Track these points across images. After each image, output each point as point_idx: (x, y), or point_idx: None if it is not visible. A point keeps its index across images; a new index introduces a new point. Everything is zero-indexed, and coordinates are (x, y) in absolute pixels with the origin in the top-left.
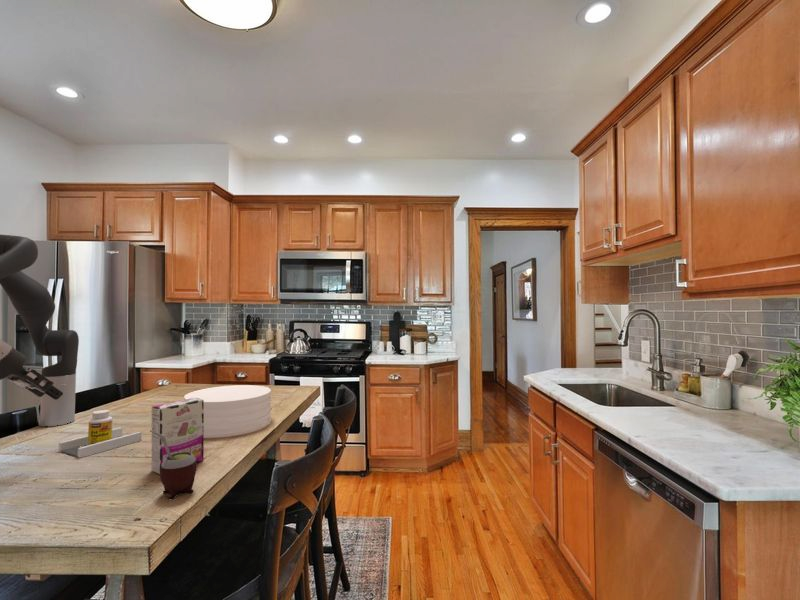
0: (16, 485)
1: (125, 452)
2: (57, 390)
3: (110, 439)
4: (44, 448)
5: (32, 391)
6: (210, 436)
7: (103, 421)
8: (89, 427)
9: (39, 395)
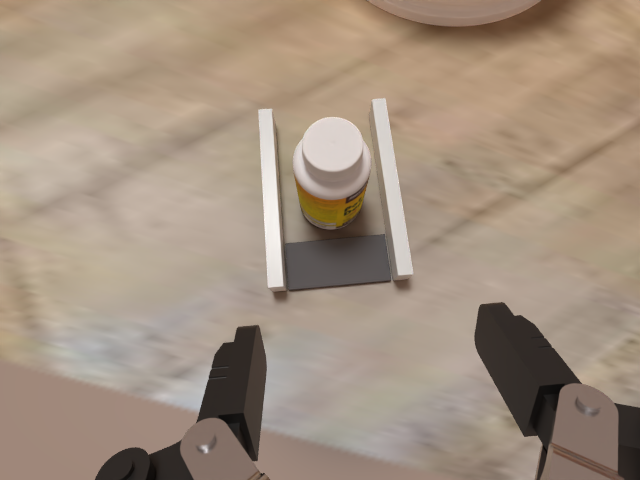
0: (520, 471)
1: (464, 185)
2: (550, 344)
3: (384, 181)
4: (191, 305)
5: (260, 425)
6: (532, 4)
7: (370, 165)
8: (333, 206)
9: (265, 372)
